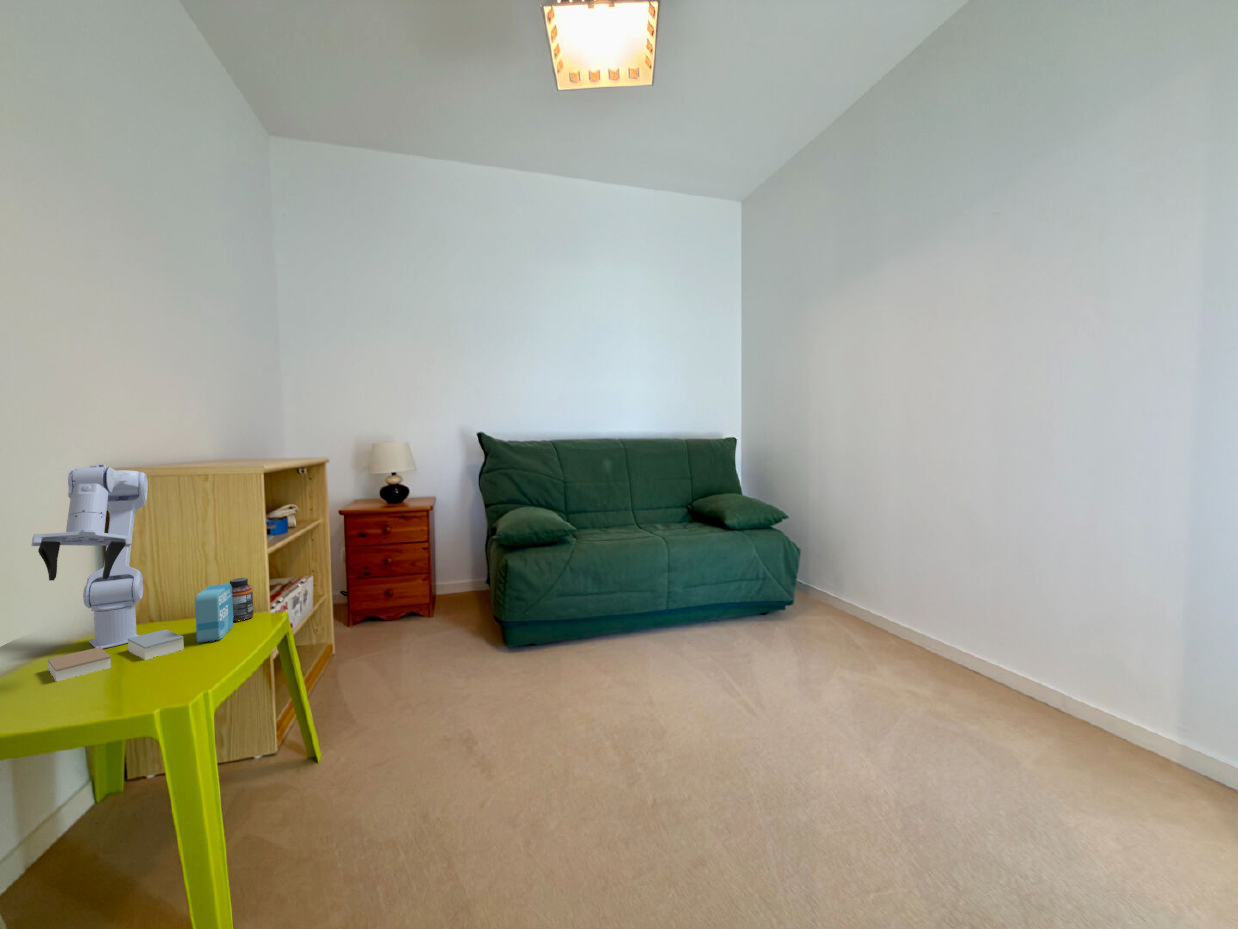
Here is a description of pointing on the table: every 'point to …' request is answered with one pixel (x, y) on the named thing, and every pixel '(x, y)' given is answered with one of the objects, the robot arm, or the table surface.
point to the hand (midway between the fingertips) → (79, 578)
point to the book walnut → (78, 663)
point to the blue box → (213, 612)
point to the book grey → (155, 644)
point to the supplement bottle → (241, 599)
